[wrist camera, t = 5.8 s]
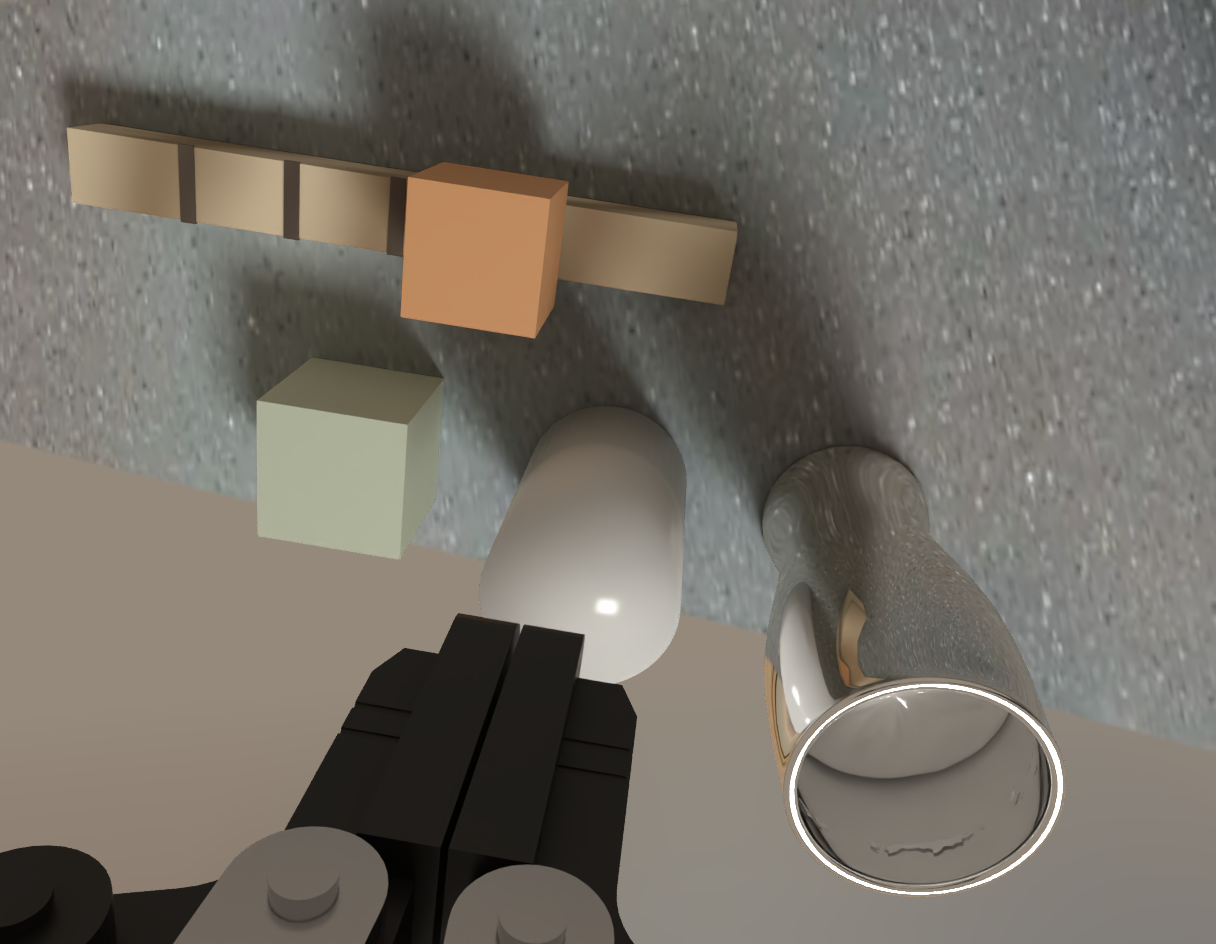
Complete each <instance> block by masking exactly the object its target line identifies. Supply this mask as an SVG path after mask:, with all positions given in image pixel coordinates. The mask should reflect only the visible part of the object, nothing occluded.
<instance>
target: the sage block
mask: <svg viewBox="0 0 1216 944" xmlns="http://www.w3.org/2000/svg"><path fill="white" fill-rule="evenodd" d="M443 393H444V378H438V377H431V376H425V375H419V374H413V373H406V372H400V371H394V370H388V369H382V368H375V367H369V366H363V365H357V364H351V363H344V362H338V361H332V360H326V359H319V358H313V357H312V358H311V359H309V360H308V361H307V362H305V363H304V364H303V365H302V366H300V367H299V368H298V369H296V370H295V371H294V372H293V373H291V374H290V375H289V376H287V377H286V378H285V379H284V380H282V381H281V382H280V383H278V384H277V385H276V386H275V387H273V388H272V389H271V390H269V391H268V392H267V393H266V394H264V395H263V396H262V397H260V398H259V399H258V400H257V508H258V536H261V537H268V538H273V539H279V540H285V541H291V542H297V543H304V544H309V545H316V546H322V547H327V548H334V549H339V550H345V551H352V552H357V553H363V554H369V555H375V556H382V557H387V558H393V559H400V558H401V557H402V555H403V553H404V552H405V550H406V548H407V547H408V545H409V543H410V542H411V540H412V538H413V537H414V535H415V533H416V532H417V530H418V528H419V527H420V525H421V523H422V522H423V520H424V518H425V517H426V515H427V513H428V512H429V510H430V509H431V507H432V505H433V504H434V502H435V500H436V489H437V475H438V461H439V448H440V434H441V420H442V407H443Z"/></svg>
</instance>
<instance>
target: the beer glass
mask: <svg viewBox="0 0 1216 944" xmlns="http://www.w3.org/2000/svg"><path fill="white" fill-rule="evenodd" d="M762 531H763V537H764V542H765V545H766V548H767V551H768V553H769V555H770V557H771V559H772V561H773V563H774V565H775V567H776V568H777V570H778V572H779V578H778V583H777V588H776V592H775V596H774V600H773V605H772V610H771V614H770V619H769V624H768V630H767V640H766V647H765V656H764V675H765V698H766V706H767V714H768V721H769V729H770V735H771V739H772V745H773V749H774V753H775V759H776V764H777V768H778V772H779V776H780V780H781V785H782V789H783V801H784V807H785V812H786V815H787V819H788V821H789V824H790V826H791V828H792V830H793V832H794V834H795V836H796V838H797V839H798V840H799V842H800V844H801V845H802V846H803V847H804V849H805V850H806V851H807V852H808V853H809V854H810V855H811V856H812V857H813V858H814V859H815V860H816V861H817V862H818V863H819V864H820V865H822V866H823V867H824V868H826V869H827V870H829V871H830V872H832V873H833V874H835V875H836V876H838V877H840V878H842V879H844V880H846V881H848V882H850V883H852V884H854V885H857V886H860V887H863V888H865V889H868V890H872V891H876V892H880V893H884V894H890V895H896V896H906V897H931V896H941V895H949V894H954V893H959V892H963V891H967V890H970V889H974V888H977V887H980V886H983V885H985V884H988V883H990V882H992V881H994V880H996V879H998V878H1000V877H1002V876H1004V875H1006V874H1008V873H1009V872H1011V871H1012V870H1014V869H1016V868H1017V867H1018V866H1020V865H1021V864H1022V863H1024V862H1025V861H1026V860H1027V859H1028V858H1030V856H1032V855H1033V854H1034V853H1035V852H1036V851H1037V850H1038V849H1039V848H1040V847H1041V845H1042V844H1043V843H1044V842H1045V840H1046V839H1047V838H1048V836H1049V835H1050V833H1051V832H1052V830H1053V828H1054V827H1055V825H1056V823H1057V821H1058V819H1059V816H1060V814H1061V811H1062V808H1063V804H1064V800H1065V794H1066V773H1065V766H1064V761H1063V757H1062V755H1061V752H1060V749H1059V747H1058V745H1057V743H1056V741H1055V739H1054V737H1053V736H1052V733H1051V730H1050V728H1049V725H1048V722H1047V719H1046V716H1045V714H1044V710H1043V707H1042V704H1041V702H1040V699H1039V696H1038V694H1037V691H1036V688H1035V686H1034V683H1033V680H1032V678H1031V675H1030V673H1029V671H1028V669H1027V666H1026V664H1025V662H1024V660H1023V658H1022V655H1021V653H1020V651H1019V649H1018V647H1017V644H1016V642H1015V640H1014V639H1013V637H1012V635H1011V633H1010V632H1009V630H1008V628H1007V627H1006V625H1005V623H1004V622H1003V620H1002V618H1001V616H1000V615H999V613H998V611H997V610H996V608H995V607H994V605H993V604H992V603H991V601H990V600H989V599H988V598H987V596H986V595H985V594H984V593H983V591H982V590H981V589H980V588H979V587H978V585H977V584H976V583H975V582H974V580H973V579H972V578H971V577H970V576H969V575H968V574H967V572H966V571H965V570H964V569H963V568H962V567H961V566H960V565H959V564H958V563H957V562H956V561H955V560H954V559H953V558H952V557H951V556H950V555H949V554H948V553H947V552H946V551H945V550H944V549H943V548H942V547H941V546H940V545H939V544H938V543H937V542H936V541H935V540H934V539H933V538H932V537H931V535H930V523H929V512H928V506H927V502H926V498H925V496H924V493H923V491H922V488H921V486H920V485H919V483H918V481H917V480H916V478H915V477H914V476H913V475H912V473H911V472H910V471H909V470H908V469H907V468H906V467H904V466H903V465H902V464H901V463H899V462H898V461H897V460H895V459H894V458H892V457H890V456H888V455H886V454H884V453H882V452H879V451H876V450H873V449H869V448H865V447H858V446H838V447H831V448H827V449H823V450H820V451H817V452H814V453H812V454H809V455H807V456H805V457H803V458H802V459H800V460H798V461H797V462H795V463H794V464H793V465H791V466H790V467H789V468H788V469H787V470H786V471H785V472H784V473H783V474H782V475H781V476H780V477H779V478H778V479H777V481H776V482H775V484H774V485H773V487H772V489H771V490H770V492H769V494H768V497H767V499H766V502H765V505H764V509H763V515H762Z"/></svg>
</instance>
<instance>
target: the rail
mask: <svg viewBox="0 0 1216 944" xmlns="http://www.w3.org/2000/svg"><path fill="white" fill-rule="evenodd" d="M67 137H68V150H69V162H70V175H71V187H72V200H73V203H78V204H85V205H91V206H97V207H104V208H110V209H116V210H123V211H129V212H135V213H142V214H148V215H154V216H161V217H167V218H173V219H180V220H181V222H186V223H192V224H197V222H199V223H205V224H211V225H218V226H224V227H230V228H237V229H243V230H249V231H256V232H262V233H268V234H275V235H281V236H284V238H287V239H293V240H300V239H306V240H313V241H319V242H325V243H332V244H338V245H344V246H351V247H357V248H363V249H370V250H376V251H382V252H387V254H388V255H395V256H401V257H402V256H403V255H404V242H405V223H406V205H407V186H408V177H409V176H411V175H414V174H416V173H418V172H412V171H405V170H399V169H392V168H386V167H380V166H373V165H367V164H360V163H354V162H347V161H341V160H334V159H328V158H322V157H315V156H309V155H302V154H296V153H289V152H283V151H276V150H270V149H264V148H257V147H251V146H244V145H238V144H231V143H225V142H219V141H212V140H206V139H199V138H193V137H186V136H180V135H173V134H167V133H161V132H154V131H148V130H141V129H135V128H128V127H122V126H115V125H109V124H103V123H100V124H92V125H83V126H75V127H67ZM737 235H738V229H737V223H736V222H734V221H727V220H721V219H715V218H708V217H702V216H695V215H689V214H682V213H676V212H669V211H663V210H657V209H650V208H644V207H637V206H631V205H624V204H618V203H611V202H605V201H599V200H592V199H586V198H579V197H573V196H567V202H566V210H565V219H564V228H563V236H562V245H561V253H560V262H559V270H558V279H560V280H566V281H572V282H579V283H585V284H591V285H598V286H604V287H610V288H617V289H623V290H629V291H636V292H642V293H648V294H655V295H661V296H667V297H674V298H680V299H687V300H693V301H699V302H706V303H712V304H718V305H724V304H725V298H726V293H727V288H728V282H729V277H730V272H731V267H732V261H733V256H734V251H735V245H736V240H737Z"/></svg>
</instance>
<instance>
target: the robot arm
mask: <svg viewBox="0 0 1216 944" xmlns="http://www.w3.org/2000/svg"><path fill="white" fill-rule="evenodd" d="M584 641H585V634H579V633H573V632H567V631H561V630H556V629H550V628H544V627H538V626H532V625H526V624H524V625H523V627H522V630H521V633H520V624H519V623H513V622H507V621H501V620H496V619H490V618H484V617H478V616H472V615H466V614H460V613H459V614H457V616H456V617H455V619H454V621H453V623H452V625H451V628H450V630H449V632H448V634H447V636H446V639H445V641H444V643H443V645H442V647H441V649H440V652H439V654H437V653H430V652H425V651H419V650H413V649H407V648H404V649H402V650H401V651H400V652H398V653H397V654H396V655H394V656H393V657H392V658H390V659H389V660H387V661H386V662H384V663H383V664H382V665H380V666H379V667H377V668H376V669H375V670H373V671H372V673H371V674H370V676H369V678H368V680H367V682H366V684H365V685H364V687H363V690H362V691H361V693H360V694H359V696H358V698H357V700H356V703H355V707H354V708H352V709H351V711H350V713H349V714H348V716H347V718H346V720H345V722H344V723H343V725H342V728H341V733H340V734H339V733H338V734H337V736H336V738H335V740H334V742H333V744H332V745H331V747H330V749H329V751H328V752H327V754H326V756H325V758H324V760H323V761H322V763H321V765H320V767H319V769H318V771H317V772H316V774H315V776H314V778H313V780H312V781H311V783H310V785H309V787H308V789H307V790H306V792H305V794H304V796H303V798H302V800H301V802H300V803H299V805H298V807H297V809H296V810H295V812H294V814H293V816H292V818H291V820H290V821H289V823H288V825H287V827H286V829H285V830H284V831H281V832H278V833H275V834H272V835H270V836H267V837H265V838H263V839H261V840H259V841H257V842H255V843H254V844H252V845H251V846H249V847H248V848H247V849H245V850H244V851H243V852H241V853H240V854H239V855H238V856H237V857H236V858H235V859H234V860H233V861H232V862H231V864H230V865H229V866H228V867H227V868H226V870H225V871H224V873H223V874H222V875H221V877H220V878H219V880H216V881H213V882H209V883H206V884H202V885H198V886H192V887H185V888H177V889H166V890H155V891H144V892H133V893H122V894H113V892H112V885H111V881H110V878H109V875H108V873H107V871H106V869H105V868H104V867H103V866H102V865H101V864H100V863H99V862H98V861H97V860H96V859H94V858H93V857H91V856H90V855H88V854H86V853H84V852H81V851H79V850H76V849H72V848H67V847H61V846H31V847H25V848H18V849H14V850H10V851H6V852H2V853H0V944H634V943H633V942H632V940H631V939H630V938H629V936H628V934H627V932H626V930H625V928H624V927H623V924H622V921H621V919H620V916H619V913H618V907H617V883H618V875H619V866H620V858H621V849H622V841H623V831H624V823H625V815H626V807H627V806H626V805H627V797H628V789H629V780H630V772H631V763H632V753H633V747H634V737H635V729H636V721H637V716H636V713H635V711H634V709H633V707H632V705H631V703H630V701H629V699H628V697H627V694H626V692H625V690H624V688H623V686H622V685H618V684H612V683H607V682H601V681H595V680H589V679H583V678H579V676H580V669H581V662H582V655H583V648H584Z"/></svg>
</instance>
